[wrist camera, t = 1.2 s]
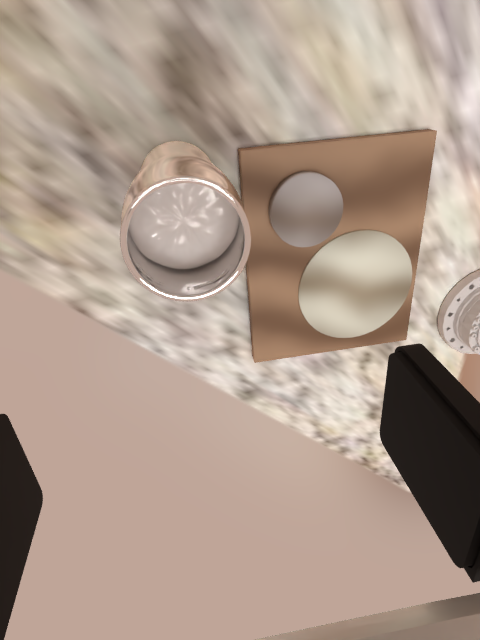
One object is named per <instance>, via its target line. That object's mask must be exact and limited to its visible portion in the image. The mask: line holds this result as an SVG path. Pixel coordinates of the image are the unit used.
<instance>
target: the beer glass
mask: <svg viewBox="0 0 480 640" xmlns="http://www.w3.org/2000/svg"><path fill="white" fill-rule="evenodd" d="M120 246H121V251H122V255H123V258H124V261H125V263H126V265H127V267H128V269H129V271H130V272H131V274H132V275H133V276H134V278H135V279H136V280H137V281H138V282H139V283H140V284H141V285H142V286H144V287H145V288H146V289H148V290H149V291H151V292H152V293H154V294H156V295H158V296H161V297H163V298H167V299H170V300H175V301H197V300H202V299H206V298H209V297H211V296H214V295H216V294H218V293H220V292H221V291H223V290H224V289H226V288H227V287H228V286H230V285H231V284H232V283H233V282H234V281H235V280H236V278H237V277H238V276H239V275H240V273H241V272H242V270H243V268H244V266H245V264H246V262H247V260H248V256H249V253H250V247H251V231H250V226H249V222H248V219H247V216H246V214H245V211H244V208H243V205H242V202H241V200H240V197H239V195H238V193H237V191H236V189H235V188H234V186H233V184H232V183H231V182H230V180H229V179H228V178H227V177H226V176H225V174H224V173H223V172H222V171H221V170H220V169H219V168H217V167H216V166H215V165H213V164H212V162H211V161H210V159H209V158H208V156H207V155H206V154H205V153H204V152H203V151H202V150H201V149H199V148H198V147H196V146H194V145H192V144H190V143H187V142H182V141H170V142H166V143H163V144H160V145H158V146H157V147H155V148H154V149H153V150H152V151H150V153H149V154H148V155H147V156H146V158H145V159H144V161H143V163H142V166H141V169H140V172H139V173H138V174H137V175H136V177H135V178H134V180H133V181H132V183H131V185H130V187H129V189H128V191H127V193H126V196H125V199H124V203H123V209H122V215H121V230H120Z"/></svg>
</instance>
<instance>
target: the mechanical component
mask: <svg viewBox="0 0 480 640" xmlns="http://www.w3.org/2000/svg"><path fill="white" fill-rule="evenodd" d="M437 321H438V330H439V333H440V336H441V337H442V338H443V339H444V341H445V342H446V343H447V344H448V345H449V346H450V347H451V348H453V349H455V350H457V351H459V352H461V353H468V354H475V353H476V354H479V355H480V270H477V271H475V272H473V273H471V274H469V275H468V276H466V277H465V278H464V279H462V280H461V281H460V282H458V283H457V284H456V285H455V286H454V287H453V289H452V290H451V291H450V292H449V293H448V295H447V296H446V298H445V299H444V301H443V303H442V305H441V307H440V311H439V315H438V319H437Z"/></svg>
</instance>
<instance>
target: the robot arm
mask: <svg viewBox="0 0 480 640" xmlns="http://www.w3.org/2000/svg"><path fill="white" fill-rule="evenodd" d="M380 437H381V441H382V444H383V446H384V447H385V449H386V451H387V452H388V454H389V456H390V457H391V459H392V461H393V462H394V464H395V466H396V467H397V469H398V471H399V472H400V474H401V476H402V477H403V479H404V481H405V482H406V484H407V486H408V487H409V489H410V491H411V492H412V494H413V496H414V497H415V499H416V501H417V502H418V504H419V506H420V507H421V509H422V511H423V512H424V514H425V516H426V517H427V519H428V521H429V522H430V524H431V526H432V527H433V529H434V531H435V532H436V534H437V536H438V537H439V539H440V540H441V542H442V544H443V546H444V547H445V549H446V550H447V552H448V554H449V556H450V557H451V559H452V561H453V562H454V563H455V565H456V566H458V567H459V568H464V569H465V570H466V572H467V574H468V575H469V577H470V579H471V580H472V582H477V581H480V403H479V402H478V401H477V400H476V399H475V398H474V397H473V396H472V395H471V394H470V393H469V392H468V391H467V390H466V389H465V388H464V387H463V386H462V384H461V383H460V382H459V381H458V380H457V379H456V378H455V377H454V376H453V375H452V374H451V373H450V372H449V371H448V370H447V369H446V368H445V367H444V366H443V365H442V364H441V363H440V362H439V361H438V360H437V359H436V358H435V357H434V356H433V355H432V354H431V353H430V352H429V351H428V350H427V349H426V348H425V347H424V346H423V345H422V344H413V345H406V346H400V347H397V348H396V350H395V353H392V354H390V356H389V360H388V368H387V376H386V384H385V392H384V401H383V409H382V417H381V425H380ZM42 501H43V495H42V490H41V488H40V486H39V484H38V481H37V479H36V477H35V475H34V472H33V470H32V468H31V466H30V464H29V462H28V460H27V457H26V455H25V453H24V451H23V448H22V446H21V444H20V442H19V440H18V438H17V435H16V434H15V431H14V429H13V427H12V424H11V422H10V421H9V418H8V416H7V415H5V414H0V640H4V637H5V633H6V630H7V626H8V623H9V619H10V616H11V612H12V609H13V605H14V602H15V598H16V595H17V591H18V588H19V584H20V580H21V577H22V574H23V570H24V566H25V563H26V560H27V556H28V553H29V549H30V546H31V542H32V539H33V535H34V531H35V528H36V524H37V521H38V518H39V514H40V510H41V507H42ZM257 640H480V593H477V594H473V595H467V596H461V597H456V598H451V599H446V600H441V601H435V602H431V603H426V604H422V605H416V606H412V607H407V608H402V609H398V610H393V611H388V612H383V613H379V614H374V615H369V616H364V617H359V618H355V619H350V620H345V621H341V622H336V623H331V624H326V625H321V626H317V627H312V628H307V629H303V630H299V631H293V632H289V633H284V634H280V635H275V636H270V637H266V638H261V639H257Z"/></svg>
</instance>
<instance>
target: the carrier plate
mask: <svg viewBox="0 0 480 640" xmlns="http://www.w3.org/2000/svg"><path fill="white" fill-rule="evenodd" d="M436 133H437V131H435V130H430V129H426V130H416V131H406V132H397V133H387V134H377V135H367V136H357V137H347V138H338V139H328V140H318V141H308V142H298V143H288V144H278V145H269V146H259V147H249V148H239V149H238V156H239V170H240V184H241V199H242V205H243V208H244V211H245V214H246V216H247V219H248V222H249V226H250V231H251V247H250V253H249V256H248V260H247V262H246V270H247V284H248V299H249V313H250V327H251V342H252V356H253V359H254V362H255V363H256V362H262V361H269V360H276V359H282V358H289V357H295V356H302V355H309V354H315V353H322V352H329V351H335V350H342V349H348V348H355V347H362V346H368V345H375V344H381V343H388V342H395V341H401V340H406V337H407V331H408V324H409V317H410V310H411V303H412V297H413V290H414V283H415V276H416V269H417V263H418V256H419V249H420V242H421V235H422V228H423V222H424V215H425V208H426V201H427V194H428V188H429V181H430V174H431V167H432V160H433V154H434V147H435V140H436Z"/></svg>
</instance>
